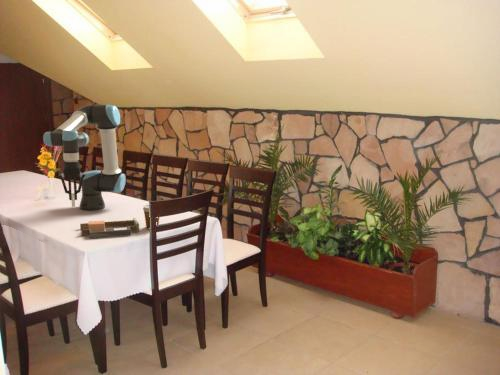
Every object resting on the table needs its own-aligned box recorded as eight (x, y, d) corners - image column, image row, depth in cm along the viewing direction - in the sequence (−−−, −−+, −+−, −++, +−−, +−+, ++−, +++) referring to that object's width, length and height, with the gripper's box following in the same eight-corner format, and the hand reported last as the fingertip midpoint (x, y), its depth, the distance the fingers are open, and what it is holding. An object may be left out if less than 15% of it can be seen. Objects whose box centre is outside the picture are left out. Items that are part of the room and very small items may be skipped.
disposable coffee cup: (162, 225, 288) (161, 204, 286) (159, 230, 279) (159, 208, 277) (145, 225, 288) (144, 204, 286) (142, 230, 279) (141, 208, 276)
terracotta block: (89, 230, 277) (88, 221, 276) (104, 229, 279) (104, 220, 278) (88, 233, 271) (88, 224, 270) (104, 232, 273) (104, 223, 272)
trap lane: (80, 229, 278) (80, 221, 278) (135, 225, 288) (135, 218, 287) (82, 239, 261) (81, 231, 260) (140, 234, 271) (140, 227, 270)
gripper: (57, 162, 258) (60, 208, 262) (85, 161, 262) (87, 207, 267) (57, 160, 265) (60, 205, 269) (84, 159, 269) (86, 203, 274)
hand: (73, 206), depth 268 cm, fingers closed
